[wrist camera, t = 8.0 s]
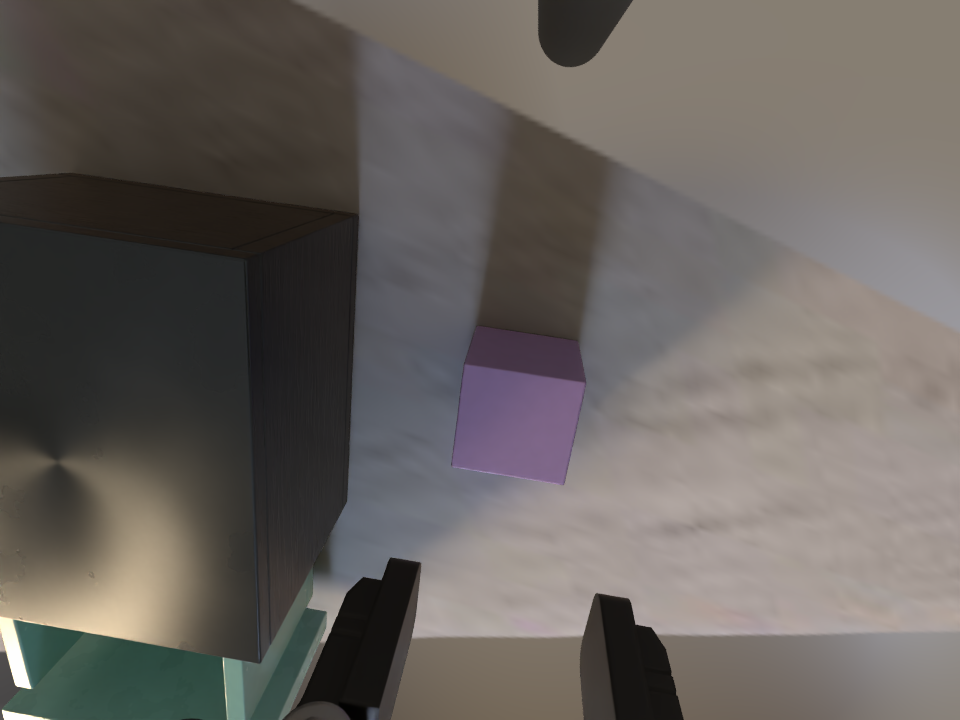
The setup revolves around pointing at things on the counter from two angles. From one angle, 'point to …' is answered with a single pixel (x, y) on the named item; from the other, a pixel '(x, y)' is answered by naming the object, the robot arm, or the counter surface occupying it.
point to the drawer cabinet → (169, 407)
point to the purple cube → (519, 405)
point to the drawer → (155, 674)
